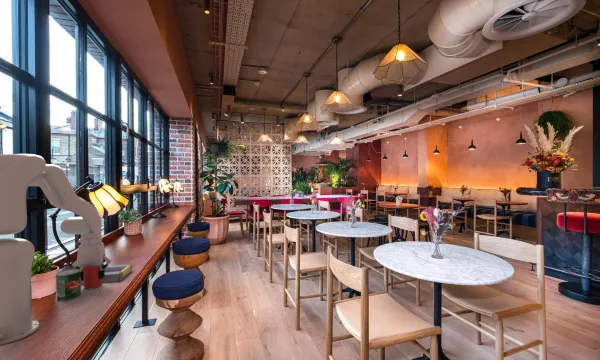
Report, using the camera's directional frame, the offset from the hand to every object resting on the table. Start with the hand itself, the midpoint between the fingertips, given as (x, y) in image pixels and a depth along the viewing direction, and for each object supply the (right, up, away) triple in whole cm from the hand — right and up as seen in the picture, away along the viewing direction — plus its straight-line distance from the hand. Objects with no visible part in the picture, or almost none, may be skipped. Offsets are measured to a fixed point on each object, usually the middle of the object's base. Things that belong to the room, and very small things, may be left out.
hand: (92, 278), depth 125 cm
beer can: (0, -4, 0) cm, 4 cm away
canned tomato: (-2, -4, -11) cm, 12 cm away
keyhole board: (-3, -3, +12) cm, 12 cm away
